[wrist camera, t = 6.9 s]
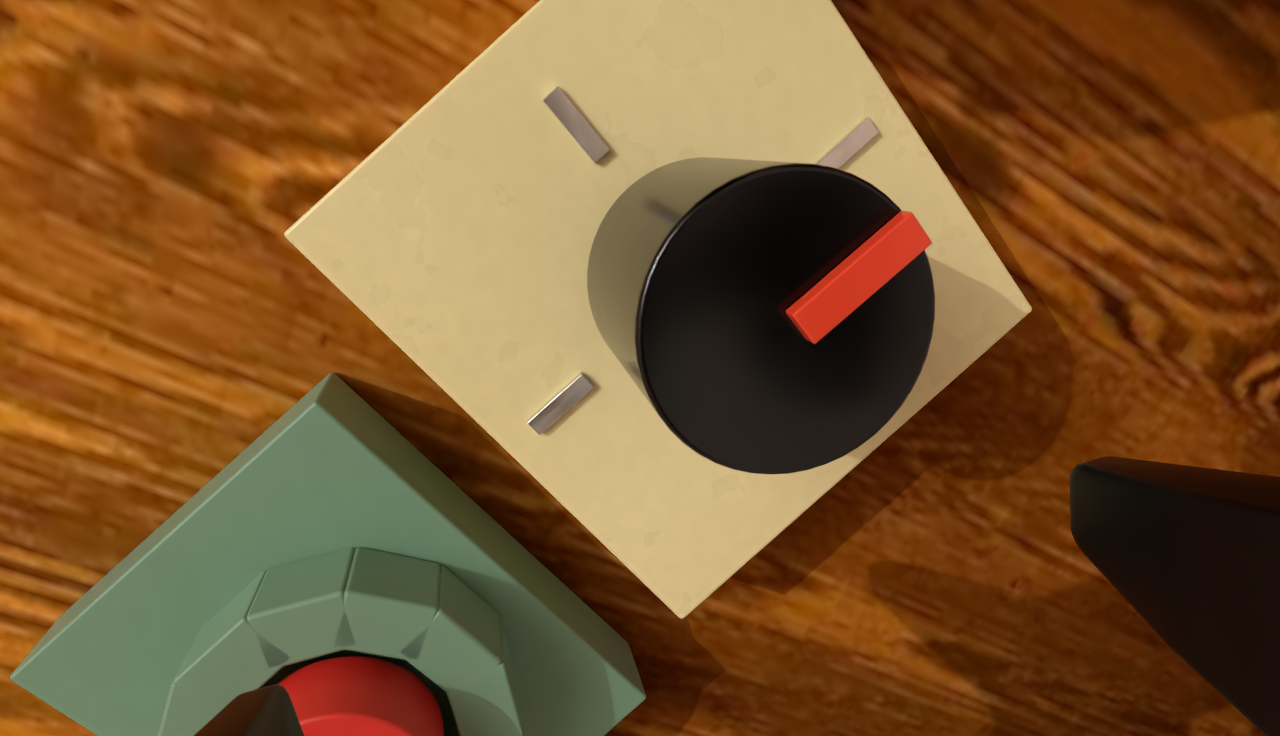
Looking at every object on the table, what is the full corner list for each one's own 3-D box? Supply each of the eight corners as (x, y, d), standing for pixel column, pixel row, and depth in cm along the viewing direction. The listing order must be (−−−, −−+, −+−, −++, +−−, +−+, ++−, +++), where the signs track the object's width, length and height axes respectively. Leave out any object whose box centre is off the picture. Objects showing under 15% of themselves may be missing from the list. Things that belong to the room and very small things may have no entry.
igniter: (59, 616, 18) (-50, 745, 14) (332, 369, 17) (297, 432, 14) (398, 847, 21) (384, 1003, 17) (629, 642, 21) (667, 754, 17)
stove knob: (683, 431, 16) (770, 544, 12) (536, 265, 15) (570, 320, 10) (851, 286, 16) (1003, 343, 12) (720, 105, 15) (837, 88, 10)
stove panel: (312, 219, 17) (279, 235, 14) (678, -114, 16) (726, -171, 13) (651, 554, 20) (684, 625, 17) (954, 286, 20) (1040, 311, 17)
